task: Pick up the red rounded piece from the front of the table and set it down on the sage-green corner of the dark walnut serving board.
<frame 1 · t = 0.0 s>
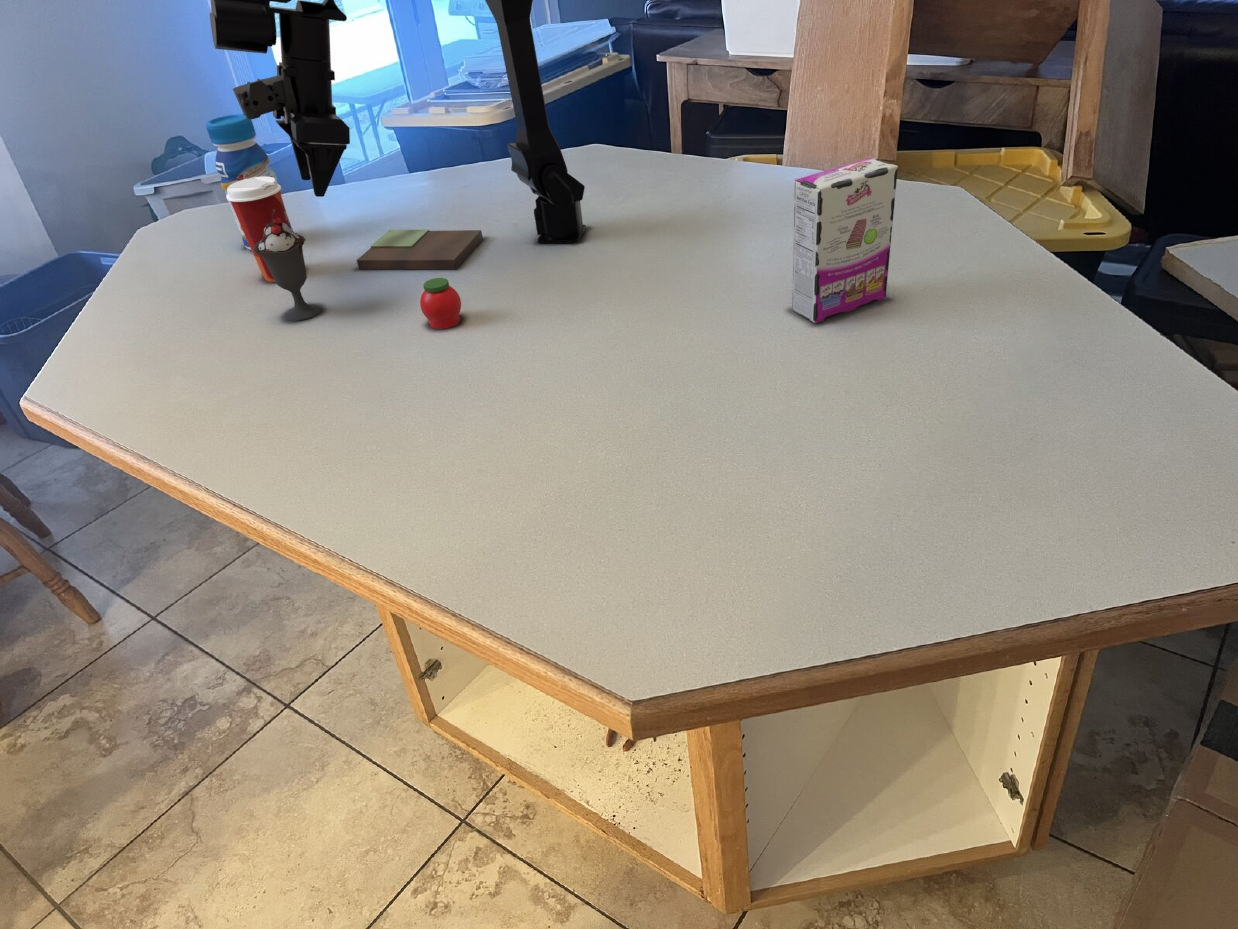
hand: (312, 187, 109), 15 cm above the table, tool pointing down, fingers open, 9 cm apart
beverage bottle: (271, 244, 139), on the table
paper cup: (283, 275, 127), on the table
sundae: (304, 314, 114), on the table
candy bar box: (837, 306, 102), on the table
red rounded piece: (445, 321, 108), on the table
board: (422, 253, 129), on the table
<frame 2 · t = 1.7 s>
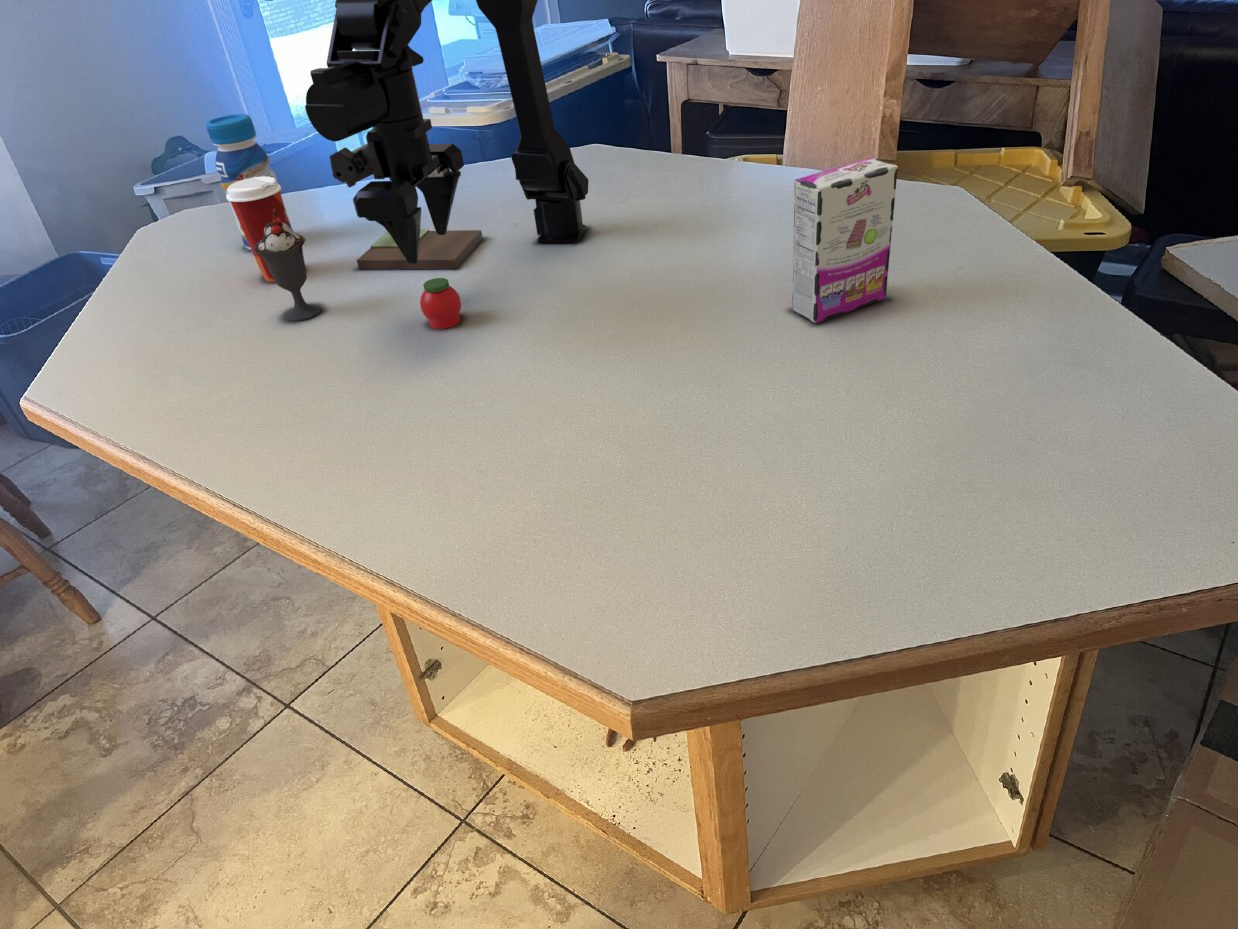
hand: (428, 248, 102), 10 cm above the table, tool pointing down, fingers open, 9 cm apart
nothing on the table moved.
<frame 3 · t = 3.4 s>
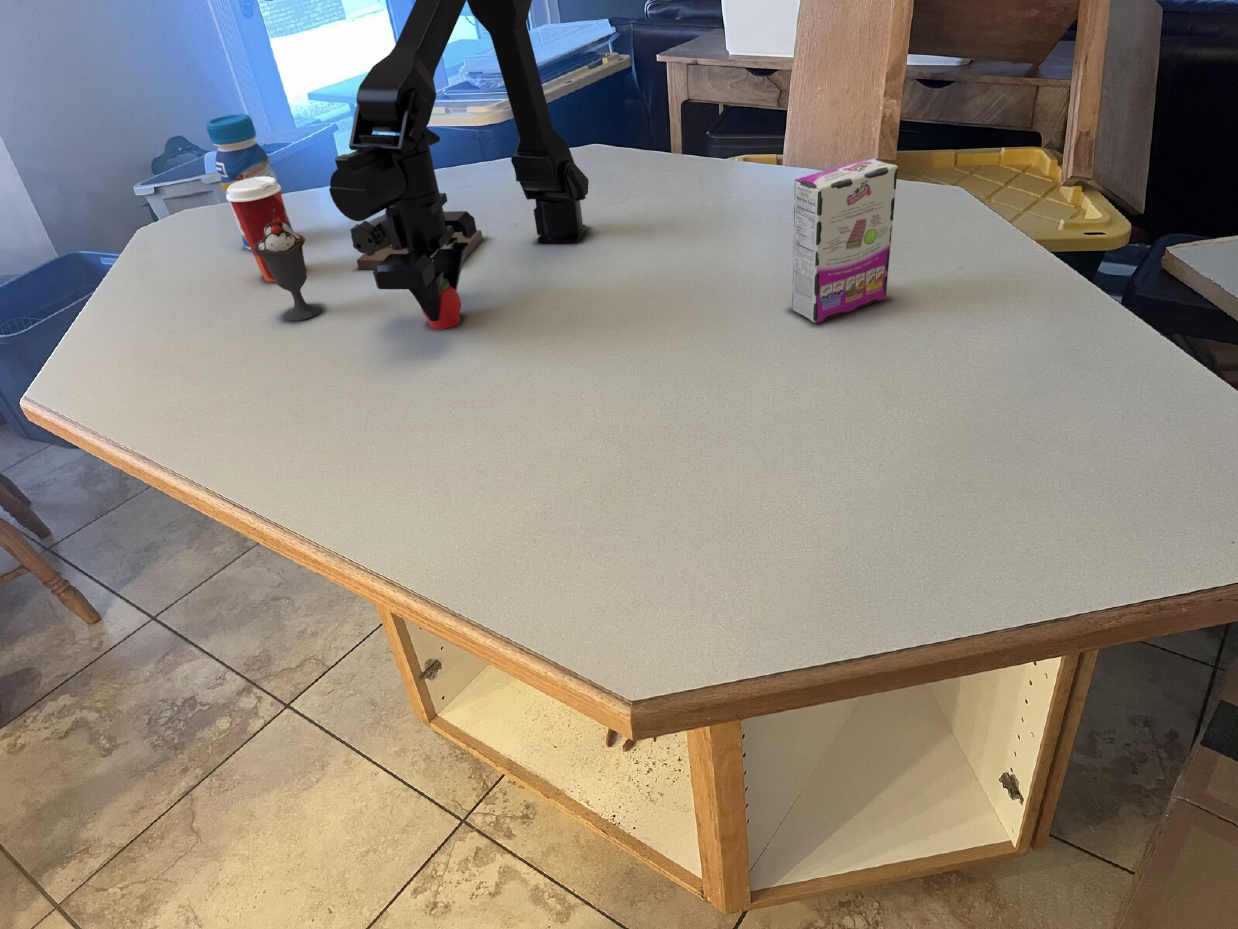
hand: (442, 311, 107), 2 cm above the table, tool pointing down, fingers closed on red rounded piece, 5 cm apart
red rounded piece: (444, 321, 108), on the table, touching gripper
everything else where it was.
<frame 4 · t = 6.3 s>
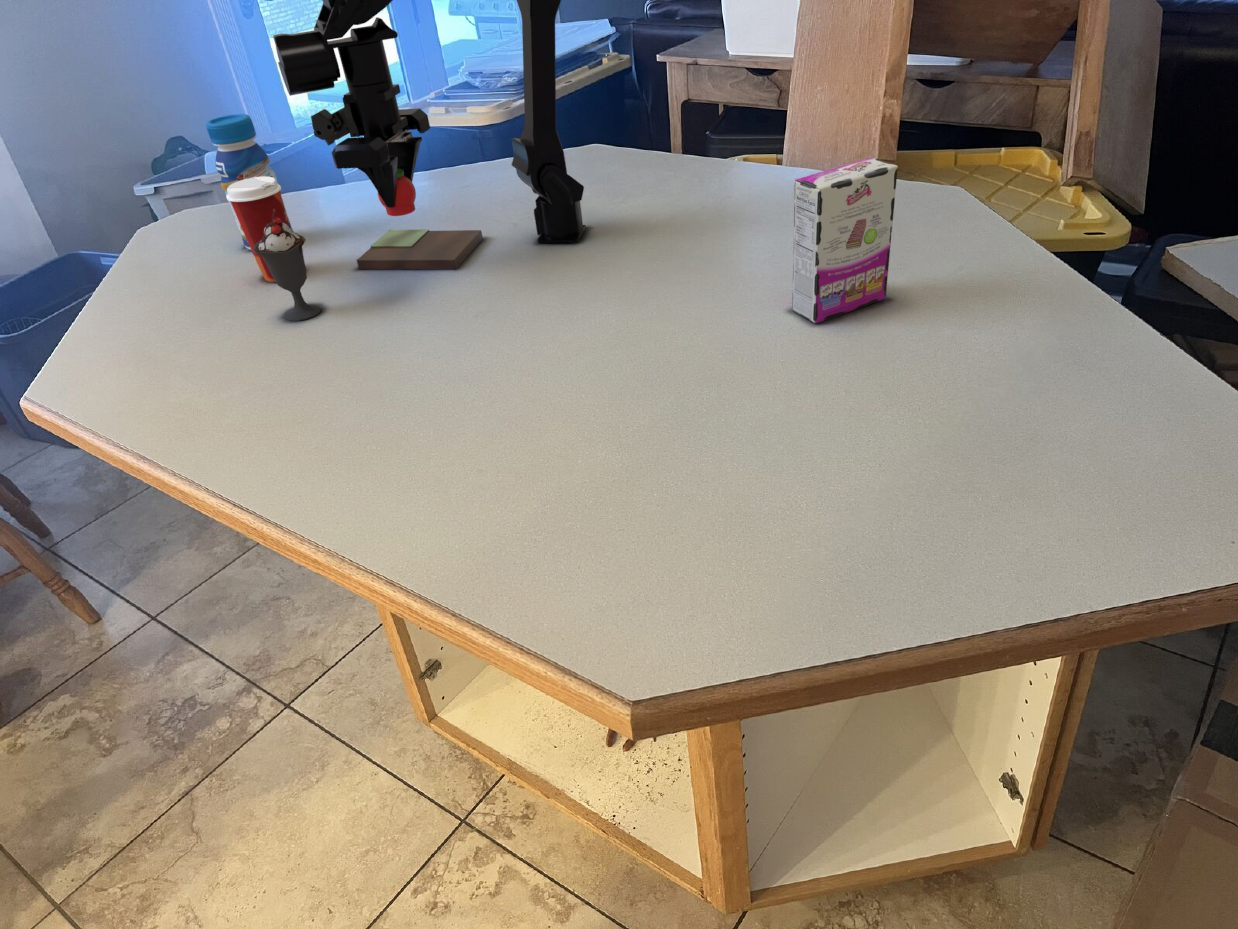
hand: (399, 200, 116), 11 cm above the table, tool pointing down, fingers closed on red rounded piece, 5 cm apart
red rounded piece: (401, 211, 117), point 9 cm above the table, touching gripper
everything else where it was.
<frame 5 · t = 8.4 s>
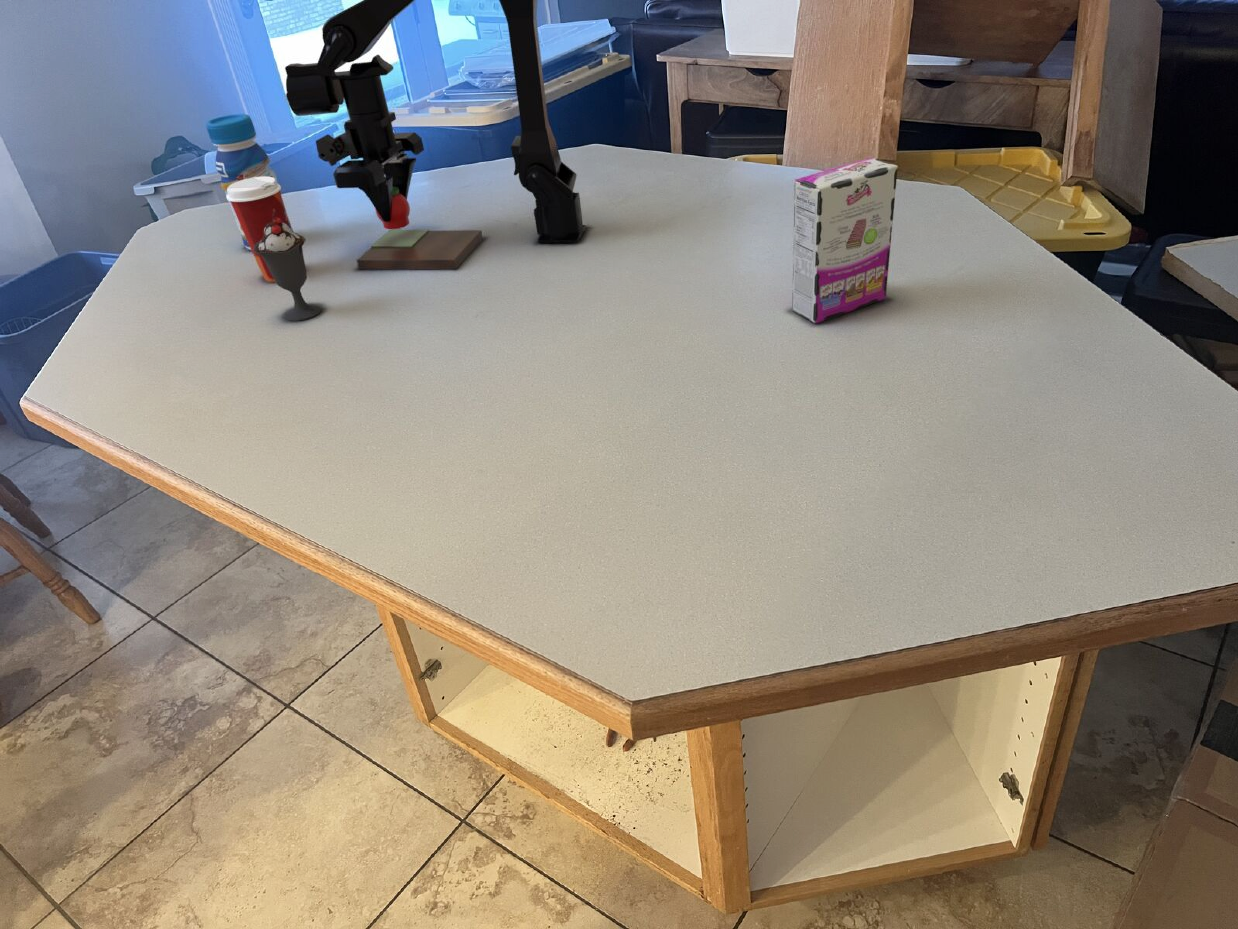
hand: (394, 215, 128), 5 cm above the table, tool pointing down, fingers closed on red rounded piece, 5 cm apart
red rounded piece: (396, 224, 129), point 4 cm above the table, touching gripper
everything else where it was.
when the fingers open (3 cm above the table, at t = 9.5 s): red rounded piece stays where it is, resting on board.
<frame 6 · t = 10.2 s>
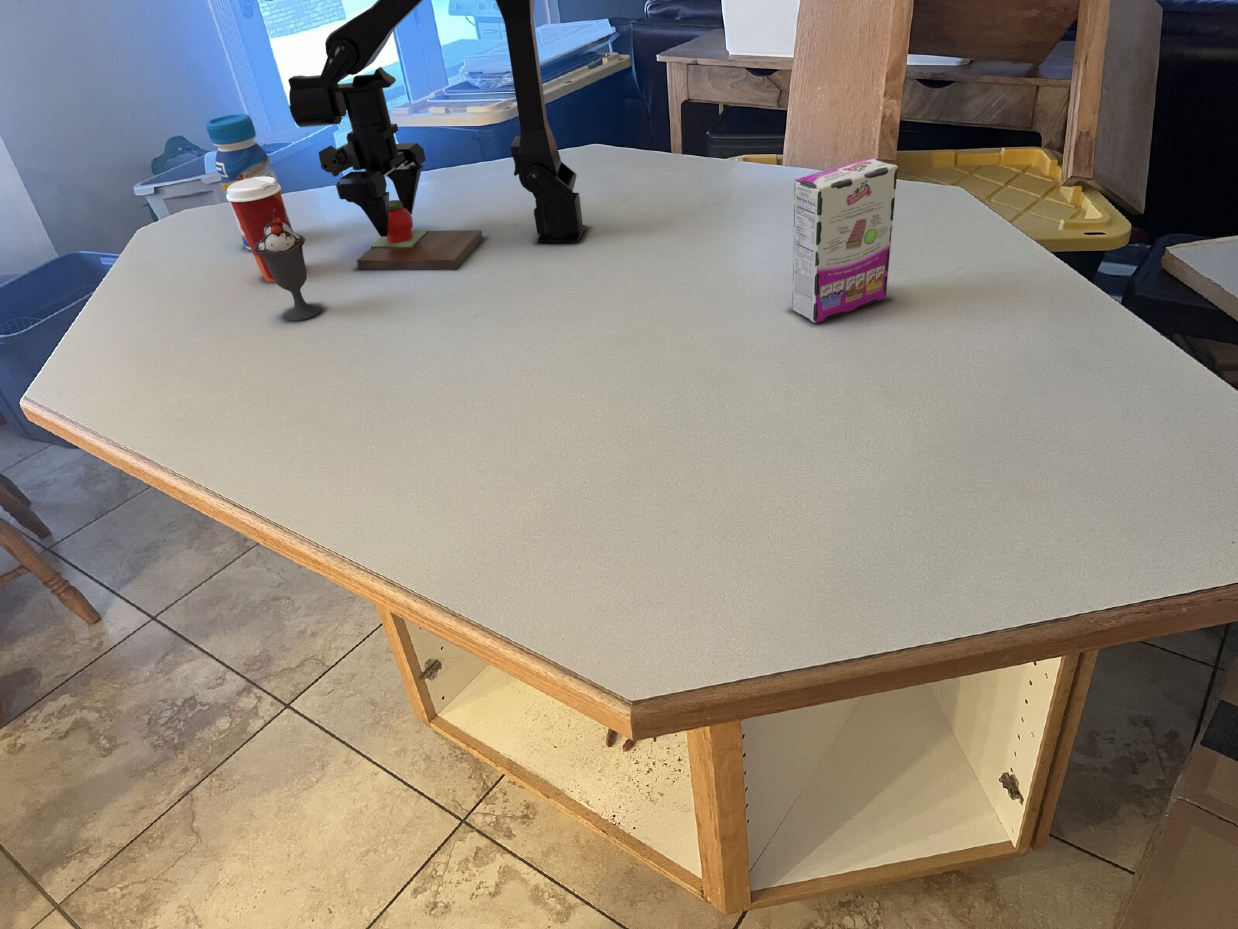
hand: (396, 225, 129), 4 cm above the table, tool pointing down, fingers open, 9 cm apart
red rounded piece: (399, 237, 131), point 2 cm above the table, touching board
everything else where it was.
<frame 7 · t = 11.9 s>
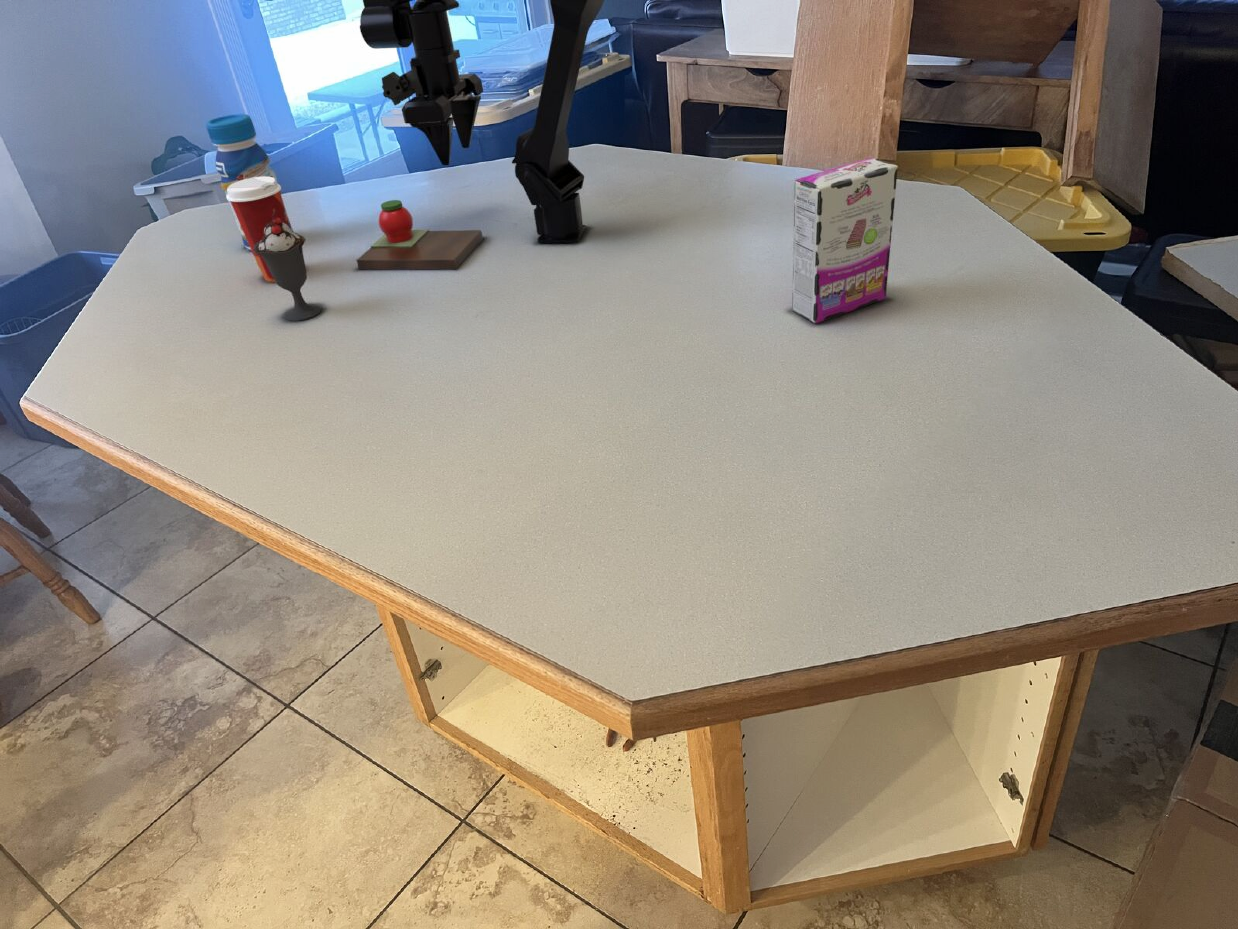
hand: (456, 156, 129), 12 cm above the table, tool pointing down, fingers open, 9 cm apart
nothing on the table moved.
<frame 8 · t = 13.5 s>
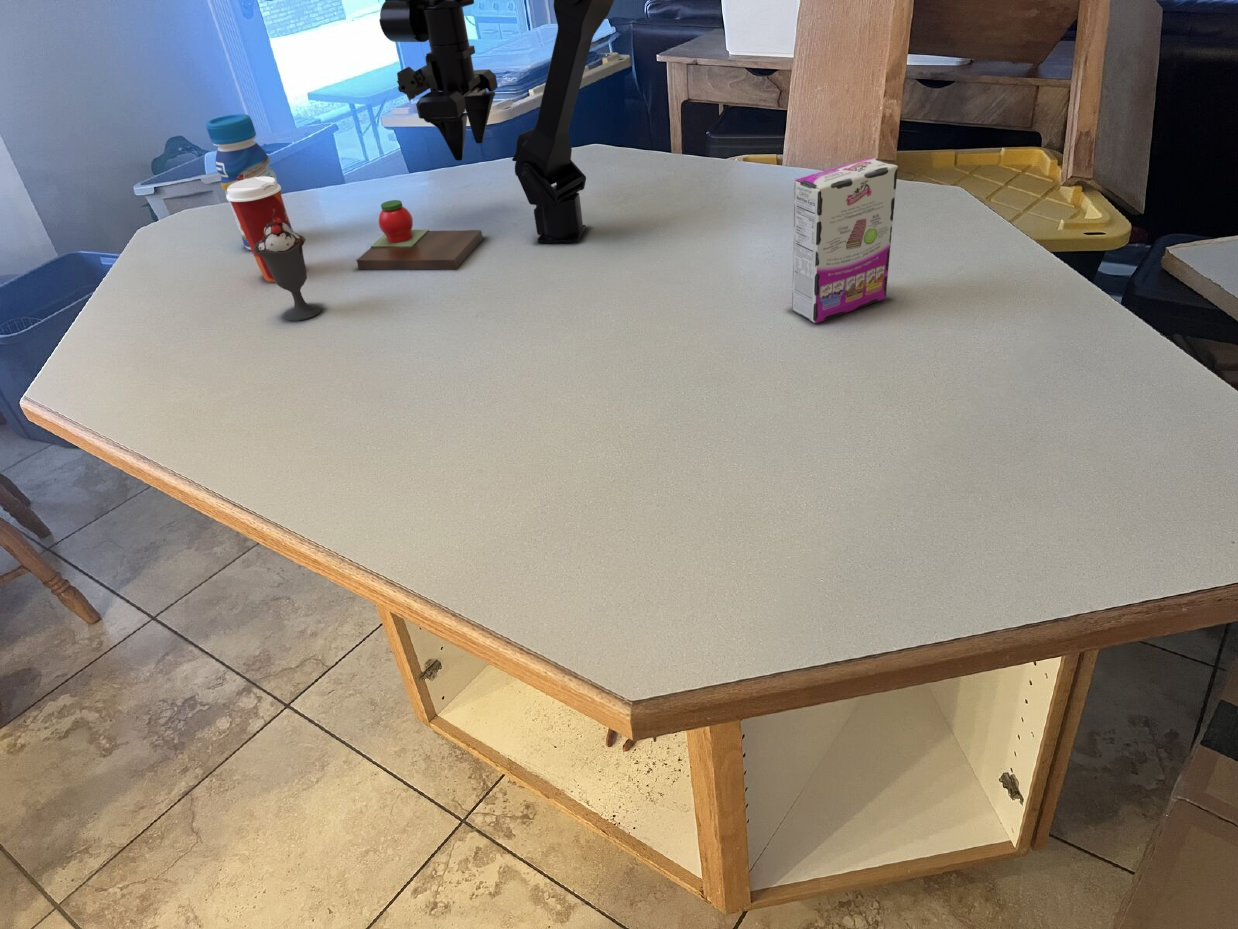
hand: (469, 151, 130), 12 cm above the table, tool pointing down, fingers open, 9 cm apart
nothing on the table moved.
at the end: red rounded piece inside the target area on the board (0.0 cm from its centre), point 1.7 cm above the board's base; red rounded piece tilted 0°; the gripper is holding nothing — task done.
